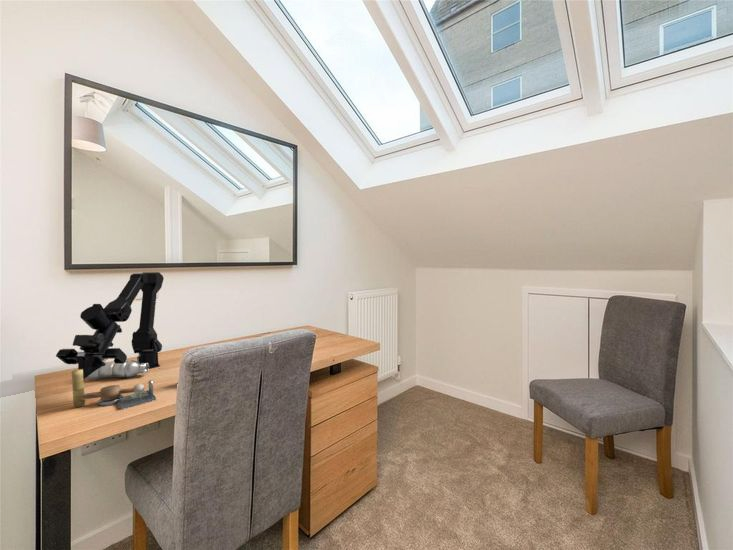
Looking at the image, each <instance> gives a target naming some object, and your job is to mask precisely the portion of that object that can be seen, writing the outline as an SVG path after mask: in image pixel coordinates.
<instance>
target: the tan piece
mask: <svg viewBox="0 0 733 550" xmlns="http://www.w3.org/2000/svg"><path fill="white" fill-rule="evenodd" d="M84 380H85V379H84ZM84 380H83V370H82V369H79V370H78V369H75V370H72V371H71V382H72V383H71V384H72V400H73V401H72V403H73V407H74V408H78V407H81V406H84V405H85V404H86V401H85V400H90V399H91V400H92V399H97V398H100V399H101V400H102V401H108V400H113V399H116V398H119V397H120V396H121V395H125V394H129V393H131V394H134V393H136V394H139V393H142V392H143V391H145V385H144V384H143V383H138V384H136V385H134V386H133V387H129V388H122V389H121V385H119V384H114V385H107V386H104V387H102V388H100V389H99V390H100V391H94V392H87V393H86V392H85V383H84Z"/></svg>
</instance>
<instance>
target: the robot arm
mask: <svg viewBox="0 0 733 550" xmlns="http://www.w3.org/2000/svg"><path fill="white" fill-rule="evenodd" d="M163 282H164V276H163V275H162V274H161V272H157V271H149V272H147V271H146V272H145V271H144V272H141V273H137V272H135V273H131V274H130V276H129V279H128V281H127V282H126V284H125V286H124V287H123V288H122V290H121V292H120V293H119V294H118V296H117V297H116V299H114V300H111V301H110V302H108V304H107V305H105V307H103V306H102V304H101V303H93V304H92V306H89V307H87V308H86V309H84V310H83V311H82V312H81V313H80V316H79V317H80V319H81V320H82V321H83V322H84V323H85V324H86V325H87V326H88V327H89V328H91V329H92V330H95V331H94V333H93V334H75V336H74V337H73V341H72V346H74V347H75V346H76V347H79V350H80V351H77V350H76V349H75V348H61V349H59V350H58V351H57V353H56V355H55V357H57V358H58V359H59V360H60V361H62V362H63V363H64V364H65V365H77V364H78V365H77V367H78V368H77V370H79V369H82V370H83V380H85V379H87V378H86V377H88V376H89V375H90V374H92V373H93V372H94V371H96V370H97V369H99V368H100V367H102V366H105V365H106V364H105V363H107V362H106V361H108V359H113V363H116V364H124V363H125V361H127V359H128V356H127V354H126V353H125V352H124V351H123V350H122V349H121V348H120V347H114V348H113V346H114V343H113V341H114V338H115V336H116V334H118V333H119V334H121V333H123V329H122V327H121V324H119V323H121V322H123V323H124V322H127V321H128V320H129V319H130V316H131V313H132V312H133V309H132V303H134V302H135V301H134V300H135V299H136V297H137V296H138V294H139V292H140V291H141V292H142V298H141V309H140V314H139V315H140V317H139V328H138V329H136V331H133V333H132V338H131V347H132V350H133V354H138V356H136V361H137V362H139V363H140V364H141V363H148V364H149V369H152V368H156V367H160V366H161V365H160V363H159V353H160V352H161V351H162V349H163V344H162V343H161V342H160V341H159V339H158V333H157V332H156V330H155V328H154V325H155V313H156V304H157V294H158V293H159V292H160V290H162V289H161V288H162V286H163ZM118 322H119V323H118Z"/></svg>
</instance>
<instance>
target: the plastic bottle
mask: <svg viewBox="0 0 733 550" xmlns="http://www.w3.org/2000/svg"><path fill="white" fill-rule="evenodd" d="M105 364H106V365H105V366H102V367H100V368H99V369H97V370H96V371H94V372H93V373H92V374H90V375H89V376H88V377H86V378H85V379H88V380H91V381H95V380H100V379H101V380H102V379H106V378H107V379H108V378H128V379H129V378H130V377H131V378H133V377H136V376H138V375H139V374H146V373H148V372H149V369H150V368H149V364H148V363H141V364H140V363H139V362H137V360H135V359H134V360H133V359H132V360H131V359H130V360H126V361H125V363H124V364H116V363H115V362H105Z"/></svg>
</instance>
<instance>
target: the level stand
mask: <svg viewBox="0 0 733 550" xmlns="http://www.w3.org/2000/svg"><path fill="white" fill-rule="evenodd" d="M153 381H154V380H148V381H147V383H148V390H144V391H143V392H142V393H139V394H136V393H134V392H133V393H131V394H129V395H124V394H121V396H120V397H119V398H116V399H113V400H108V401H102V400H101V398H100V399H99V400H97V405H98V406H100V407H109V406H114V405H116V406H117V407H118V408H119V409H120V410H125V409H129V408H131V407H132V408H133V407H134V406H135V405H136V406H139V405H143V404H146V402H147V403H150V402H153V401H152V400H154V401H156V400H157V397H156V396H155V394H154V382H153ZM149 401H150V402H149ZM142 403H143V404H142ZM128 407H129V408H128ZM124 408H125V409H124Z"/></svg>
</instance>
